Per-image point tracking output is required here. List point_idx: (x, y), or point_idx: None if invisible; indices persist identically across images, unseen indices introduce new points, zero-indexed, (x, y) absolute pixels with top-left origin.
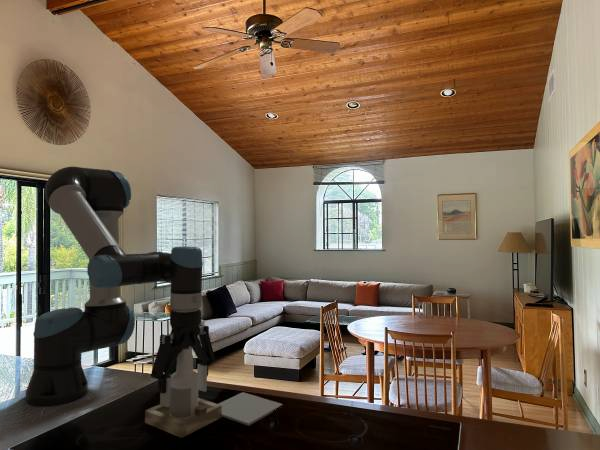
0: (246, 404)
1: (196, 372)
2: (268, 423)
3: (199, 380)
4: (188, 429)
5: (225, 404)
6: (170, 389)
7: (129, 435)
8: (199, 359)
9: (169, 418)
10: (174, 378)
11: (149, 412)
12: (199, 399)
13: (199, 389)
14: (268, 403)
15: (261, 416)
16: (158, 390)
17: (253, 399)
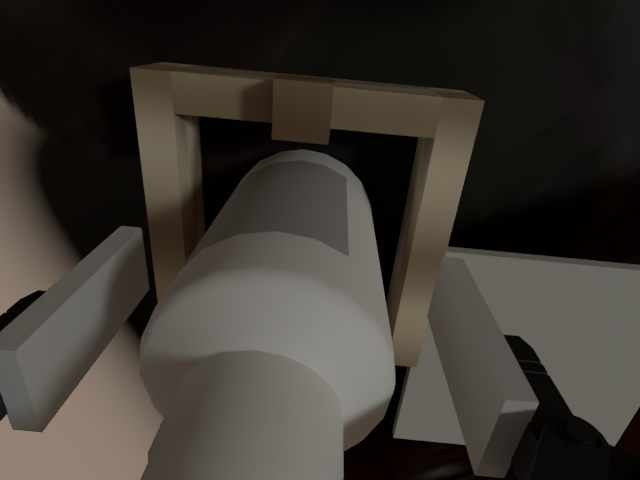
0: (557, 362)
1: (364, 433)
2: (440, 463)
3: (453, 317)
4: None
5: (523, 292)
6: (93, 362)
7: (37, 107)
8: (527, 476)
9: (164, 262)
10: (143, 373)
11: (136, 113)
12: (435, 238)
13: (438, 279)
14: (596, 422)
15: None
16: (19, 303)
17: (626, 361)
